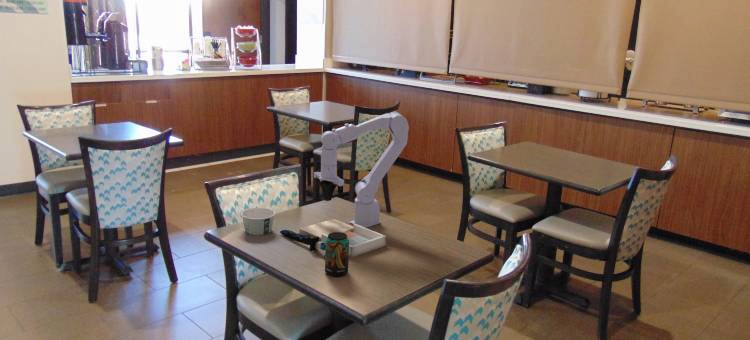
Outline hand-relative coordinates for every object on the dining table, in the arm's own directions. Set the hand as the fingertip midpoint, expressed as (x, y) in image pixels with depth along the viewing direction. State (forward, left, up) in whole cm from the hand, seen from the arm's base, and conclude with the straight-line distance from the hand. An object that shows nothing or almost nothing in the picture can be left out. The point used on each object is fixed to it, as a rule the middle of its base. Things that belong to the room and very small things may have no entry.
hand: (328, 200), depth 208 cm
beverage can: (+25, +33, -10) cm, 42 cm away
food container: (+23, -11, -10) cm, 27 cm away
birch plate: (+6, +7, -9) cm, 13 cm away
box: (+6, +21, -9) cm, 23 cm away
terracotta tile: (+6, +18, -9) cm, 21 cm away
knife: (+19, +12, -10) cm, 24 cm away
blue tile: (+6, +22, -9) cm, 25 cm away
